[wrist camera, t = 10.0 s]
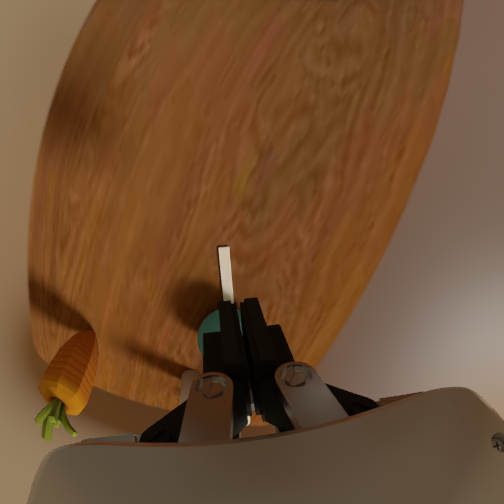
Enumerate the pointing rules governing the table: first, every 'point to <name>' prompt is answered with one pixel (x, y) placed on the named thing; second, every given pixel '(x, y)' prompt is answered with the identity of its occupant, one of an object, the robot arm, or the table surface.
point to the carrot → (68, 382)
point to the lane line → (226, 273)
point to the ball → (211, 326)
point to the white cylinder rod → (187, 383)
